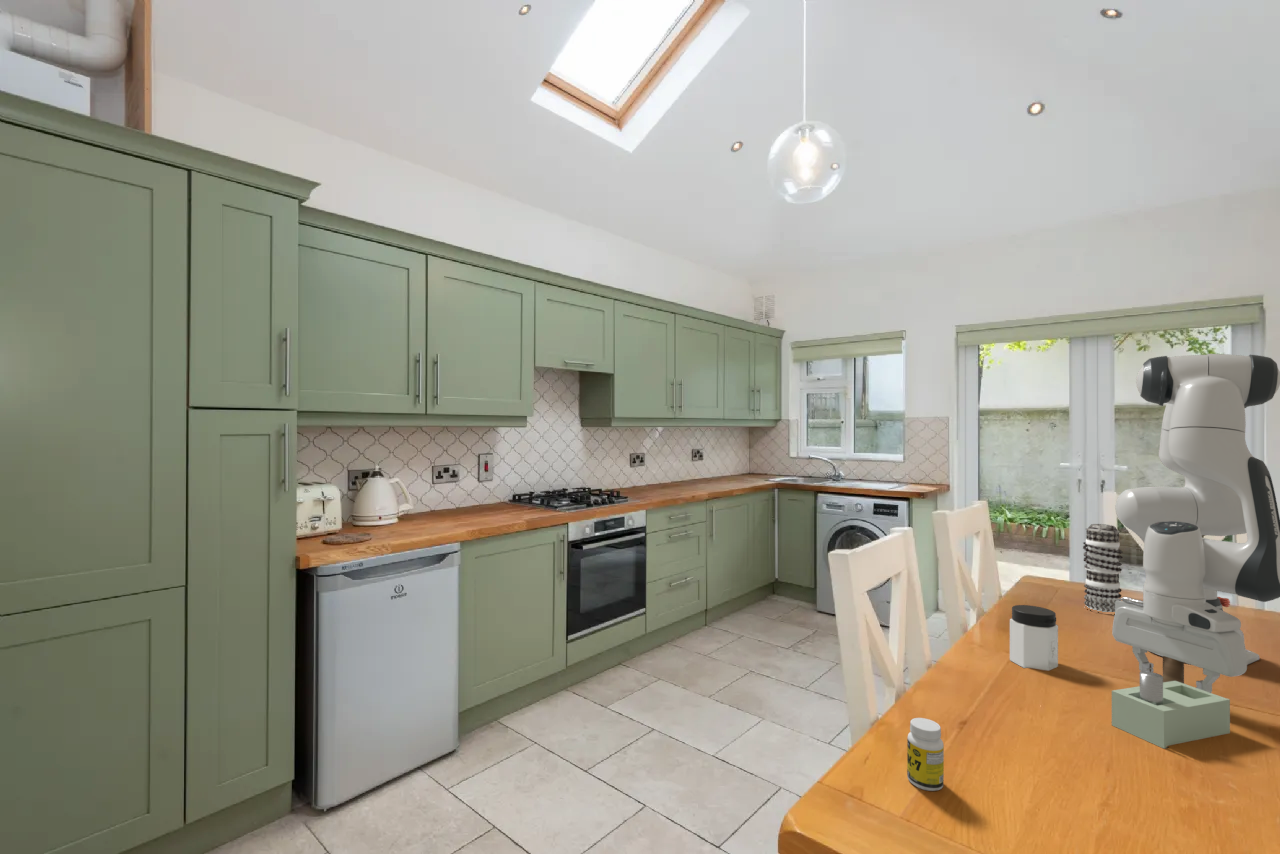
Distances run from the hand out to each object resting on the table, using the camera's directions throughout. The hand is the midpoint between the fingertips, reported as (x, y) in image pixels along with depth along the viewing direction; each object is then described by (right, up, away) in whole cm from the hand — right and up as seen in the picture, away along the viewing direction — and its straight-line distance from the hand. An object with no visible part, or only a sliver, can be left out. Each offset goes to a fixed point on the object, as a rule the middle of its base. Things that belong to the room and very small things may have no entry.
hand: (1174, 681), depth 111 cm
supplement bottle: (-60, -3, -26) cm, 66 cm away
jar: (-14, -5, +19) cm, 24 cm away
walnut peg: (0, -4, 0) cm, 4 cm away
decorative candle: (+34, -6, +60) cm, 69 cm away
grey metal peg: (-14, -4, -12) cm, 19 cm away
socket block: (-10, -4, -10) cm, 15 cm away
